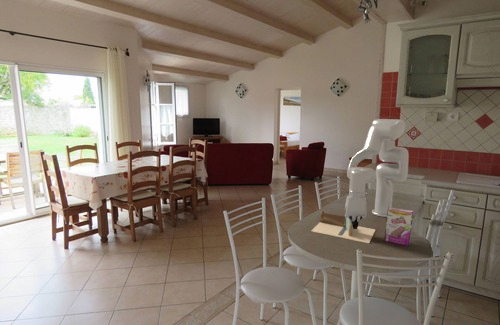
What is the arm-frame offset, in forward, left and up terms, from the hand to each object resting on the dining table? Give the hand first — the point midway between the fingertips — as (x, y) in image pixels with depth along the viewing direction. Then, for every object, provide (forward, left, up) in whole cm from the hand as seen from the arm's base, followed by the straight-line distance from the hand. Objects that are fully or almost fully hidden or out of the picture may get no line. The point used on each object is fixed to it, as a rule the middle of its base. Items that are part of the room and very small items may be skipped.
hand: (354, 228), depth 160 cm
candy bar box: (+1, +20, -3) cm, 21 cm away
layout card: (0, -6, -3) cm, 6 cm away
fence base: (-6, -13, -3) cm, 14 cm away
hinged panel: (+1, -3, -2) cm, 4 cm away
